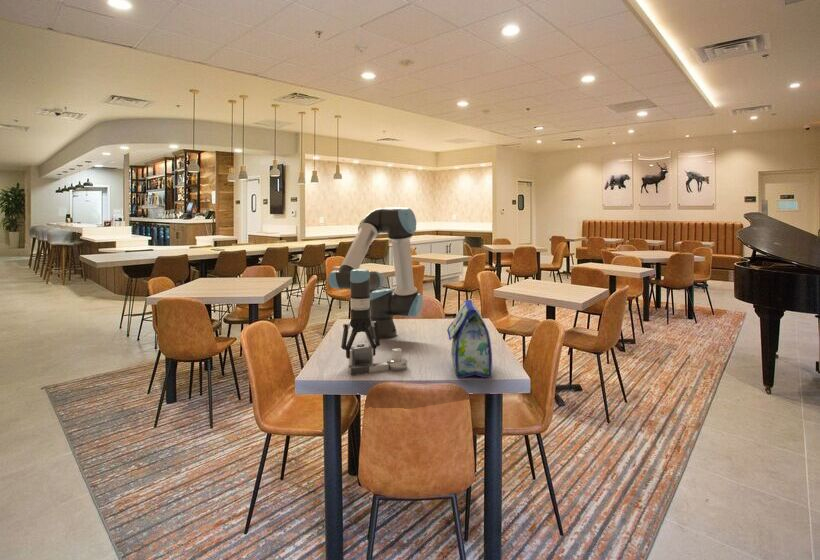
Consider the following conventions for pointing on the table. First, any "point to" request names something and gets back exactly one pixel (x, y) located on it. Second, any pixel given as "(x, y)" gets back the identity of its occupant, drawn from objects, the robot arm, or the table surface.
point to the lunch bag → (470, 343)
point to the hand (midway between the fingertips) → (361, 364)
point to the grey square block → (361, 354)
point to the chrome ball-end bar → (381, 365)
